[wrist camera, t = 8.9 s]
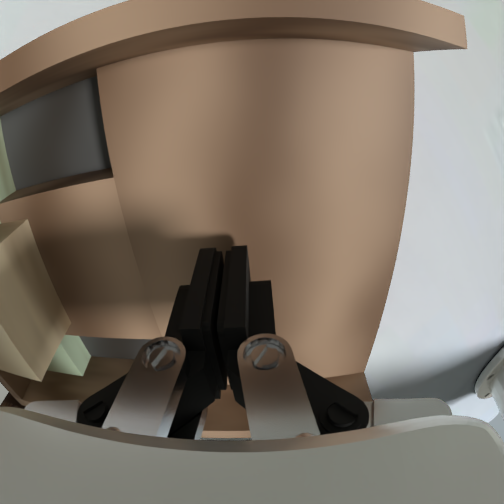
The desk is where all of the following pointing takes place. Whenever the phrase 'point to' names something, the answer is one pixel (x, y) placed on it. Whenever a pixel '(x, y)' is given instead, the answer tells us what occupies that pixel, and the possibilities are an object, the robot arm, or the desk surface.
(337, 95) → the box
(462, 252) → the desk surface
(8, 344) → the beech block
